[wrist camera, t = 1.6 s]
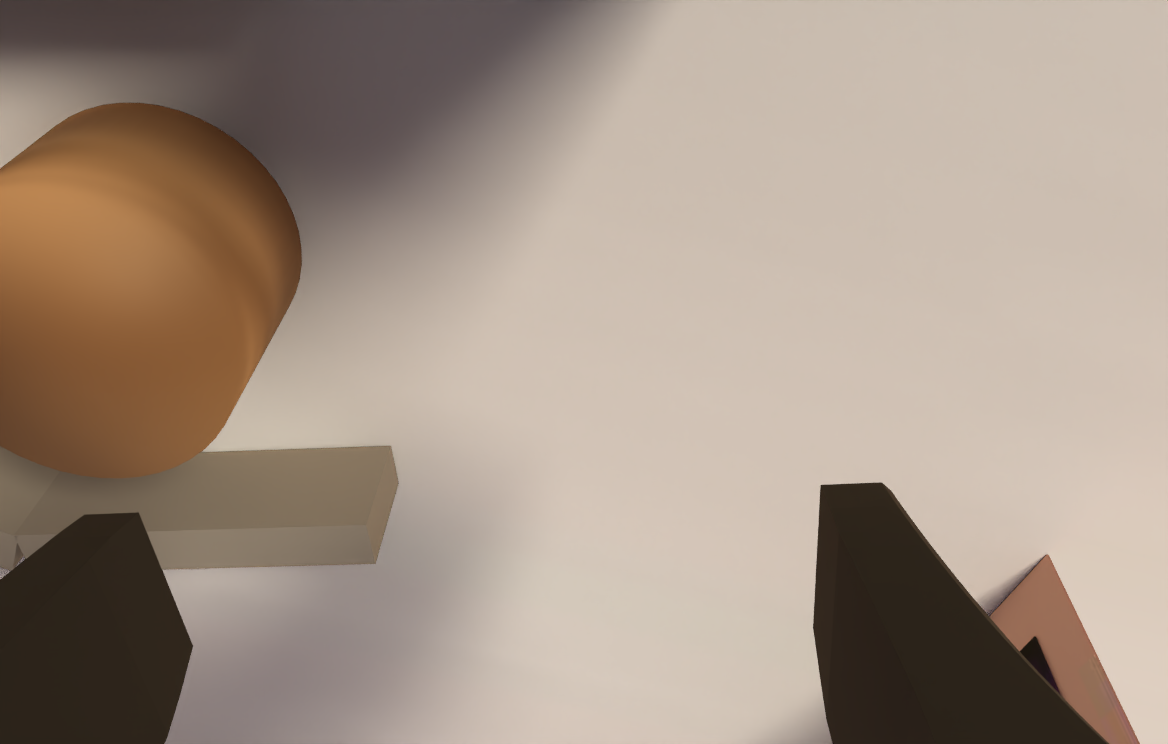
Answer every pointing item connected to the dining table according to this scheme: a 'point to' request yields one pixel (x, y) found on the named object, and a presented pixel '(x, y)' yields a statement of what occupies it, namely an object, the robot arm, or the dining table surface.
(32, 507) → the keyhole track
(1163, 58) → the dining table surface
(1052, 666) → the greeting card
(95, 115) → the tan rounded capsule
